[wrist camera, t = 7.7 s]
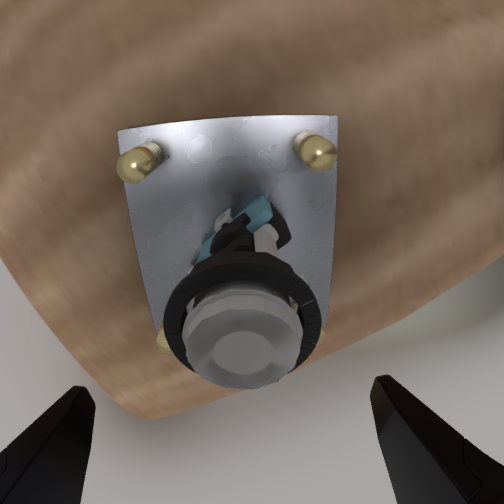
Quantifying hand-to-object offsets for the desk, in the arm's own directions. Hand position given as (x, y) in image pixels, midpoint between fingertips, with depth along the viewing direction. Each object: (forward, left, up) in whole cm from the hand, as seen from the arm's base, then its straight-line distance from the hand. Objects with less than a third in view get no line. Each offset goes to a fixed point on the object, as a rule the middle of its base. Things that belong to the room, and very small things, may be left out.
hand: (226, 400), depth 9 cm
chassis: (0, 0, -12) cm, 12 cm away
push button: (0, 0, -12) cm, 12 cm away
